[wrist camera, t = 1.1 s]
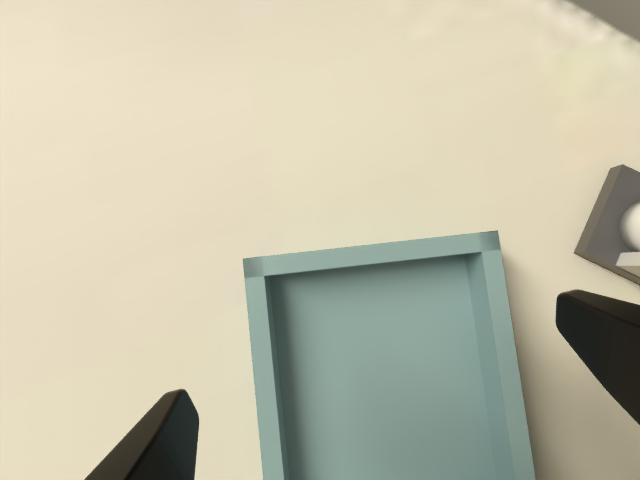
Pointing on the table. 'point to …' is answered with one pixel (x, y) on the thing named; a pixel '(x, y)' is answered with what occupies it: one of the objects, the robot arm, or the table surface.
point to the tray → (387, 363)
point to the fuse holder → (612, 225)
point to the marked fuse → (631, 227)
